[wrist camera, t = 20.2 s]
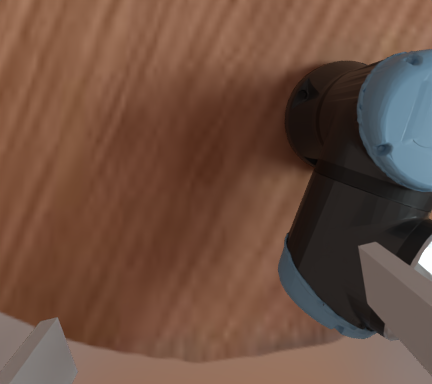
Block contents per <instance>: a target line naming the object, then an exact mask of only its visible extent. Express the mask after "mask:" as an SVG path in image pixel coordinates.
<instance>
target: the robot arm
mask: <svg viewBox="0 0 432 384" xmlns="http://www.w3.org/2000/svg"><path fill="white" fill-rule="evenodd" d="M285 129H286V134H287V137H288V140H289V143H290V145H291V147H292V148H293V150H294V151H295V153H296V154H297V155H298V156H299V157H300V158H301V159H302V160H303V161H305V162H306V163H308V164H309V165H311V166H313V167H315V169H314V171H313V172H312V175H311V178H310V180H309V183H308V185H307V188H306V190H305V193H304V195H303V198H302V201H301V203H300V206H299V208H298V211H297V213H296V216H295V219H294V221H293V224H292V226H291V229H290V231H289V233H287V235H286V237H285V240H284V249H283V252H282V255H281V258H280V261H279V264H278V272H279V277H280V281H281V284H282V286H283V288H284V289H285V291H286V292H287V294H288V295H289V296H290V298H291V299H292V300H293V301H294V302H295V303H296V304H297V305H298V306H299V307H300V308H301V309H302V310H303V311H304V312H305V313H307V314H308V315H309V316H311V317H312V318H313V319H315V320H316V321H317V322H319V323H321V324H322V325H324V326H326V327H327V328H329V329H333V328H335V329H336V330H338V331H339V332H340V333H341V334H342V335H345V336H348V337H351V338H358V339H365V338H368V337H371V336H372V335H374V334H376V333H379V334H380V335H382V336H383V337H385V338H386V339H388V340H390V341H393V340H400V341H401V342H402V343H403V344H404V346H405V347H406V348H407V349H408V350H409V351H410V352H411V353H412V354H413V356H414V357H415V358H416V359H417V360H418V361H419V363H420V364H421V365H422V366H423V367H424V368H425V369H426V370H427V371H428V373H429V374H430V375H431V376H432V220H431V219H429V215H430V213H431V210H432V49H427V50H420V51H410V52H408V53H407V52H402V53H398V54H395V55H392V56H390V57H387V58H386V59H384V60H381V61H378V62H376V63H373V64H370V65H366V64H364V63H360V62H356V61H337V62H333V63H329V64H326V65H324V66H322V67H319V68H317V69H315V70H314V71H312V72H310V73H309V74H308V75H306V76H305V77H304V78H303V79H302V80H301V81H300V82H299V83H298V85H297V86H296V87H295V89H294V90H293V92H292V94H291V96H290V98H289V101H288V104H287V107H286V112H285ZM77 373H78V371H77V368H76V366H75V363H74V360H73V357H72V355H71V352H70V349H69V347H68V344H67V341H66V339H65V336H64V333H63V330H62V328H61V325H60V322H59V320H58V317H57V318H52V319H48V320H44V321H40V322H39V324H38V325H37V326H36V327H35V329H34V330H33V331H32V332H31V334H30V335H29V336H28V337H27V339H26V340H25V341H24V342H23V344H22V345H21V346H20V347H19V349H18V350H17V351H16V353H15V354H14V355H13V356H12V358H11V359H10V360H9V361H8V363H7V364H6V365H5V366H4V368H3V369H2V370H1V371H0V384H72V383H73V381H74V379H75V377H76V374H77Z"/></svg>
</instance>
